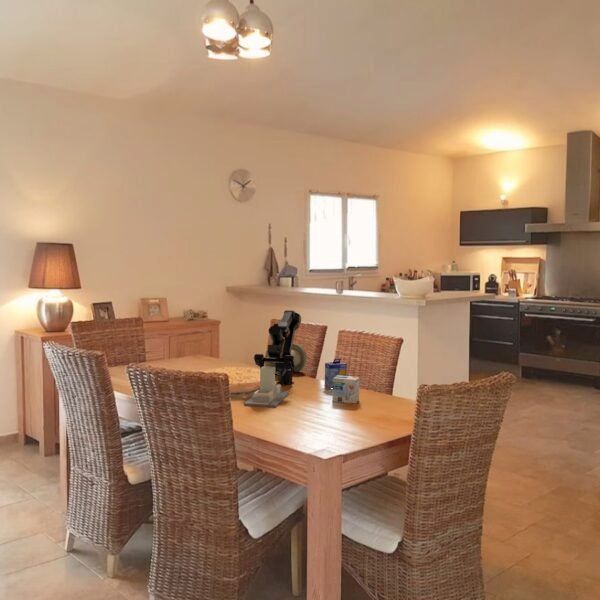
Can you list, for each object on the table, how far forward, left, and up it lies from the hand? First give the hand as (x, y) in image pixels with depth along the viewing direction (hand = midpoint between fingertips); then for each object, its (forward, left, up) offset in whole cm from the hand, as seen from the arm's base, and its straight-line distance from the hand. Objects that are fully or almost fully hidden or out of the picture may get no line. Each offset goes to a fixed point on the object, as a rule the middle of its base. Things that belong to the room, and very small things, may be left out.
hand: (271, 375), depth 287 cm
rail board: (+3, -6, -9) cm, 12 cm away
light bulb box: (+30, +16, -10) cm, 36 cm away
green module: (+3, -6, -8) cm, 11 cm away
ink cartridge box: (+10, +34, -10) cm, 37 cm away
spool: (-32, +44, -10) cm, 55 cm away
